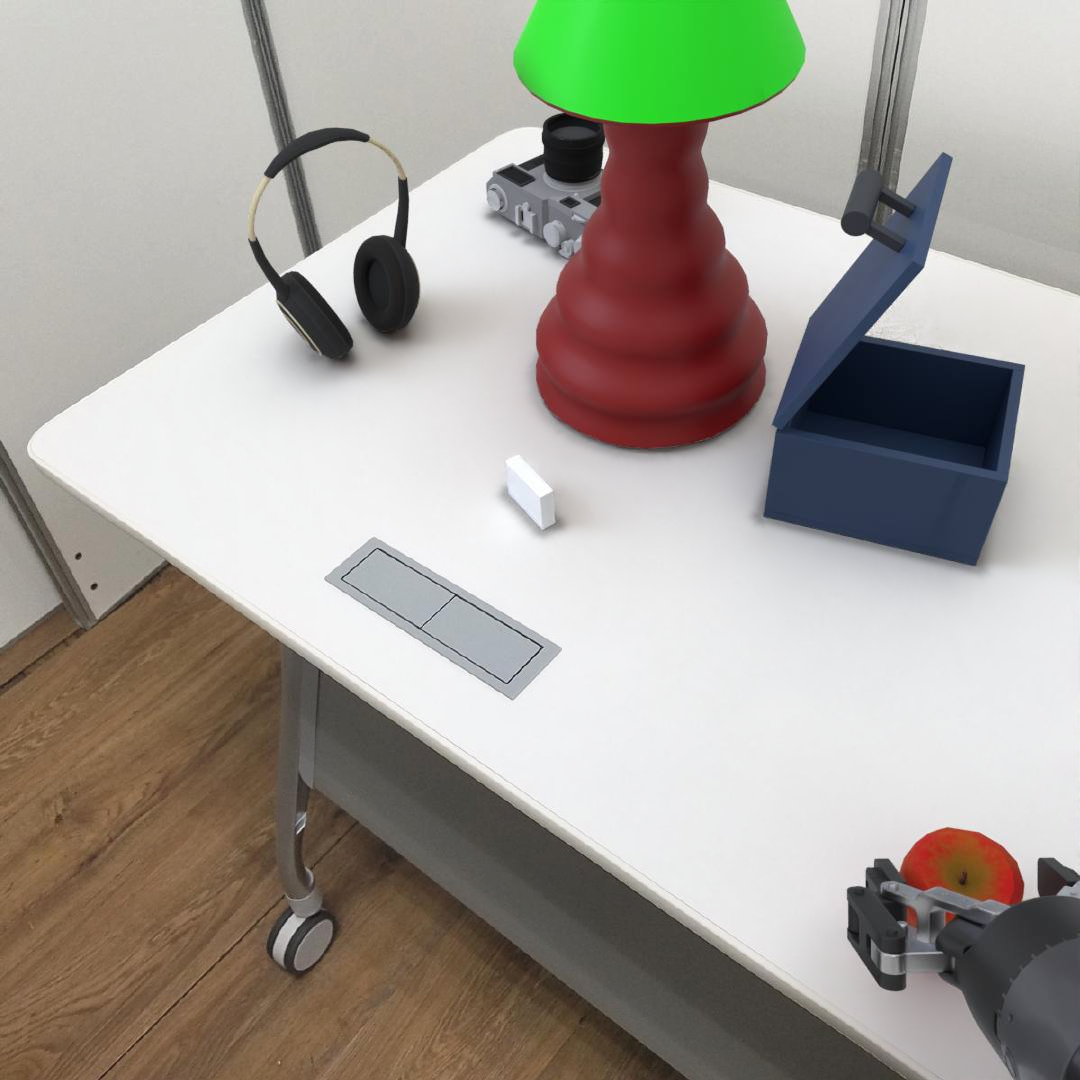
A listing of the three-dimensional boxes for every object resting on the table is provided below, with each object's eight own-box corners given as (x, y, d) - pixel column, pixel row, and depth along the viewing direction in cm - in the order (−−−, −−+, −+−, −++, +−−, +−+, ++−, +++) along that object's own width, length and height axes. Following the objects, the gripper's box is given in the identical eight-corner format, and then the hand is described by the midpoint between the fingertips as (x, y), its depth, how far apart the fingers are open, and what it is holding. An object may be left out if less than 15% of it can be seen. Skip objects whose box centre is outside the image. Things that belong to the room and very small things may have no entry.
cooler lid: (953, 157, 71) (888, 118, 71) (924, 267, 64) (851, 224, 63) (818, 323, 84) (762, 290, 84) (780, 430, 77) (719, 395, 76)
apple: (951, 858, 65) (982, 798, 59) (1019, 953, 61) (1059, 898, 56) (860, 899, 64) (883, 841, 58) (923, 999, 60) (955, 948, 54)
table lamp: (808, 356, 96) (911, -268, 62) (678, 489, 86) (715, -163, 52) (625, 278, 104) (627, -304, 71) (489, 391, 95) (416, -220, 61)
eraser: (542, 530, 84) (539, 497, 81) (508, 493, 87) (504, 460, 84) (555, 523, 84) (553, 490, 82) (521, 487, 87) (518, 453, 84)
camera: (677, 148, 102) (600, 185, 97) (669, 243, 109) (597, 282, 104) (549, 87, 111) (473, 118, 106) (549, 178, 118) (478, 212, 113)
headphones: (451, 327, 101) (421, 123, 86) (308, 394, 96) (250, 190, 81) (404, 284, 106) (368, 84, 91) (266, 346, 101) (204, 144, 86)
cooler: (994, 450, 87) (1025, 364, 80) (975, 566, 79) (1007, 482, 73) (799, 410, 91) (812, 325, 85) (763, 516, 84) (775, 432, 77)
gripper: (1295, 938, 41) (1099, 804, 58) (913, 939, 42) (825, 807, 58) (1291, 1128, 42) (1097, 943, 58) (913, 1126, 43) (826, 944, 59)
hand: (961, 875), depth 58 cm, fingers open, 8 cm apart
